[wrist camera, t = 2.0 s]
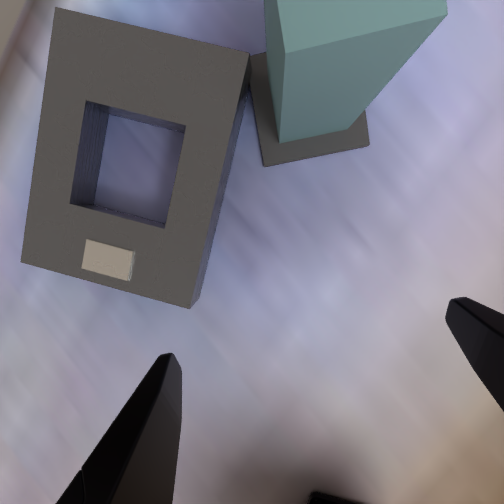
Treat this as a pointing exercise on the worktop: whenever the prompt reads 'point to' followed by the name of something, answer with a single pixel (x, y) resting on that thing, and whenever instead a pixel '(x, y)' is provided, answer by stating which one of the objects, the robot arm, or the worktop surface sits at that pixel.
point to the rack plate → (91, 146)
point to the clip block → (338, 57)
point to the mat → (303, 147)
